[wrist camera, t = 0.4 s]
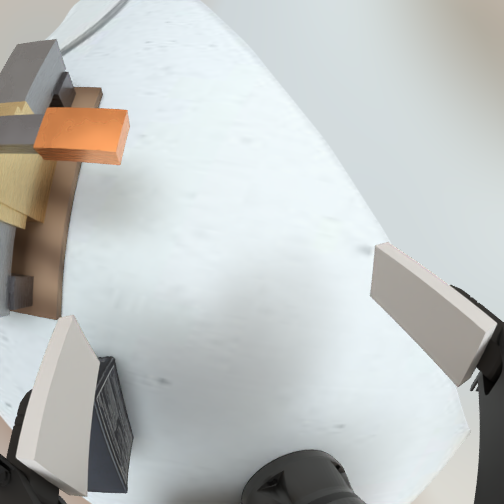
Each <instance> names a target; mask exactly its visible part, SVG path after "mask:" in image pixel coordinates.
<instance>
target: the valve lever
mask: <svg viewBox="0 0 504 504" xmlns="http://www.w3.org/2000/svg"><path fill="white" fill-rule="evenodd" d="M129 128H130V124H129V118H128V111H127V110H120V109H104V108H73V107H53V108H47V110H46V112H45V114H26V115H8V116H0V154H39V155H40V156H41V157H42V158H43V159H44V160H53V161H72V162H87V163H100V164H112V165H120V164H121V160H122V156H123V151H124V147H125V143H126V139H127V135H128V131H129Z"/></svg>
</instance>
